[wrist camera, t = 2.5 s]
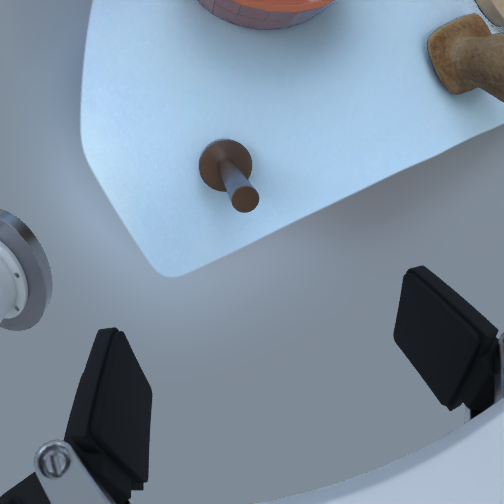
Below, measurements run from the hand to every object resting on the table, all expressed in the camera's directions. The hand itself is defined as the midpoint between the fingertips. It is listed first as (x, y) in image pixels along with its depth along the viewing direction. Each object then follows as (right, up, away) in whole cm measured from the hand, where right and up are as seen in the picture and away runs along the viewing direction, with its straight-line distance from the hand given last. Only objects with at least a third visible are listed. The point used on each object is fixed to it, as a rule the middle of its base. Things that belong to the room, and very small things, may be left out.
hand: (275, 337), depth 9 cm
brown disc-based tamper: (-4, +12, +21) cm, 24 cm away
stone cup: (+28, +30, +19) cm, 45 cm away
